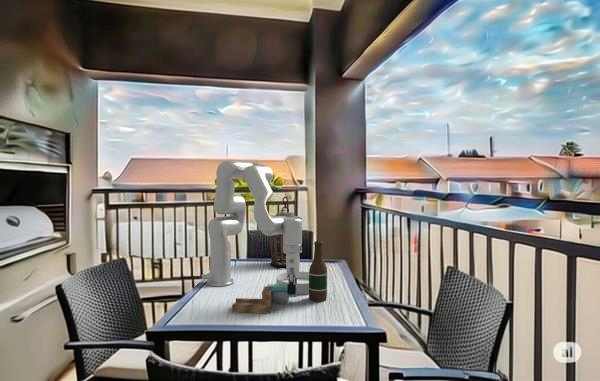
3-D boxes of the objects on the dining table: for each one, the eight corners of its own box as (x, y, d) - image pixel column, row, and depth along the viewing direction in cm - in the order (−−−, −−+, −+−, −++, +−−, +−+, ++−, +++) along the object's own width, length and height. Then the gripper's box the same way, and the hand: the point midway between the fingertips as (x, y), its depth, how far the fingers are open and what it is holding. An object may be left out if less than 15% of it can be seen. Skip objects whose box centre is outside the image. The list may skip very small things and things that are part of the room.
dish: (292, 279, 188) (292, 269, 188) (332, 286, 177) (332, 275, 177) (266, 290, 169) (266, 279, 169) (308, 298, 158) (308, 286, 158)
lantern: (299, 261, 229) (299, 196, 228) (303, 268, 210) (304, 197, 209) (267, 262, 227) (267, 195, 226) (269, 269, 207) (269, 197, 207)
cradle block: (267, 304, 148) (267, 292, 148) (269, 298, 156) (269, 286, 156) (287, 304, 148) (287, 292, 148) (289, 298, 156) (289, 286, 156)
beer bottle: (321, 303, 150) (322, 243, 150) (305, 299, 155) (305, 241, 154) (330, 298, 157) (331, 241, 157) (314, 295, 161) (314, 239, 161)
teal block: (266, 296, 150) (266, 286, 150) (267, 293, 154) (267, 284, 154) (296, 297, 150) (296, 287, 150) (296, 294, 154) (296, 284, 154)
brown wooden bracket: (232, 312, 139) (232, 291, 139) (236, 305, 147) (236, 286, 146) (269, 313, 139) (270, 292, 138) (272, 306, 146) (272, 286, 146)
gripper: (301, 252, 143) (300, 297, 143) (302, 245, 160) (301, 285, 161) (281, 252, 143) (281, 297, 143) (284, 244, 160) (284, 284, 161)
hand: (292, 290), depth 152 cm, fingers open, 9 cm apart
